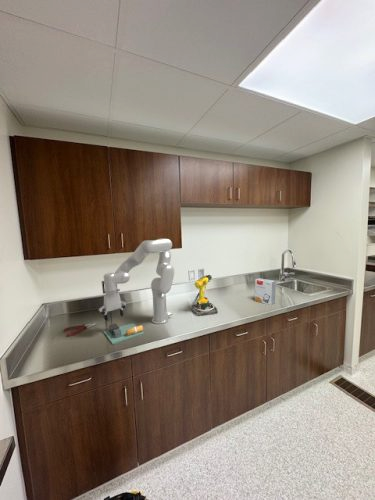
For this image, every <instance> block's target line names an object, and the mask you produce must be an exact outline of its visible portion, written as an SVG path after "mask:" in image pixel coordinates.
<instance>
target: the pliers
mask: <svg viewBox="0 0 375 500" xmlns="http://www.w3.org/2000/svg"><path fill="white" fill-rule="evenodd" d="M97 325H98V323H96V322H92V323H87V324H85V323H83V324H80V325H74V326H69V327H66V328H64V329H63V331H62V332H63V333H65V332H68V331H70V332H68V333H67V334H66V337H72V336H75V335H77V334H79V333H81V332H83V331H85V330H87V329H88V328H92V327H94V326H97ZM72 330H74V331H72Z"/></svg>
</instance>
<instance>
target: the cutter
mask: <svg viewBox="0 0 375 500" xmlns="http://www.w3.org/2000/svg"><path fill="white" fill-rule="evenodd" d="M119 327H120V326H119V325H118V324H117V323H110V324H108V330H109V332H110V333H111V334H112V335H113V336H114V337H115V338H118V337H122V335H121V330H120V329H119Z"/></svg>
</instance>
